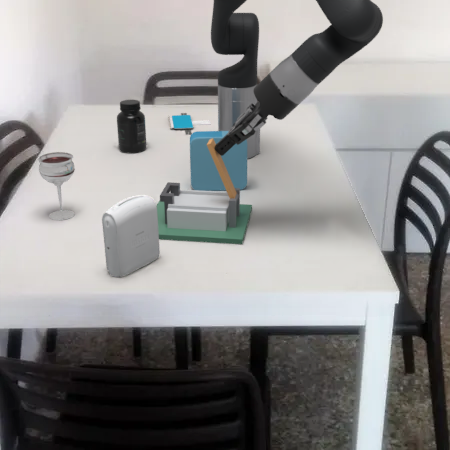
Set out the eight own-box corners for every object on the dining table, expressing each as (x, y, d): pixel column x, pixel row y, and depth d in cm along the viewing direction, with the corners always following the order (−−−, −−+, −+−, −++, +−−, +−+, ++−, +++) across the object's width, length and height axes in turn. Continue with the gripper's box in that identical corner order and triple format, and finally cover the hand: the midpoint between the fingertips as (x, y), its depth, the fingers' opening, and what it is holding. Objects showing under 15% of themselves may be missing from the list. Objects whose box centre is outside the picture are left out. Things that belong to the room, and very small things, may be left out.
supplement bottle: (143, 143, 184) (140, 97, 179) (149, 152, 178) (146, 104, 173) (116, 146, 182) (113, 99, 177) (121, 155, 176) (118, 106, 171)
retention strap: (239, 197, 138) (214, 137, 134) (237, 203, 135) (211, 143, 131) (233, 199, 138) (208, 139, 134) (231, 205, 136) (205, 145, 132)
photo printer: (119, 280, 120) (114, 212, 115) (102, 272, 122) (96, 205, 117) (163, 258, 127) (160, 193, 122) (146, 251, 129) (142, 186, 124)
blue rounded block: (245, 182, 159) (245, 130, 154) (247, 190, 155) (247, 136, 150) (191, 183, 159) (189, 131, 154) (191, 191, 155) (189, 137, 150)
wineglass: (41, 211, 146) (34, 154, 141) (75, 206, 148) (69, 150, 143) (47, 224, 140) (40, 165, 135) (82, 218, 142) (76, 161, 137)
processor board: (252, 209, 146) (252, 177, 143) (242, 244, 132) (242, 210, 129) (160, 204, 148) (158, 173, 146) (140, 238, 134) (138, 204, 131)
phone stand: (214, 135, 192) (214, 129, 191) (169, 137, 190) (168, 131, 190) (206, 114, 210) (206, 108, 209) (165, 116, 208) (165, 110, 208)
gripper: (274, 63, 132) (209, 126, 139) (268, 80, 120) (197, 148, 127) (302, 92, 133) (236, 153, 140) (299, 112, 121) (227, 178, 128)
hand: (218, 151), depth 133 cm, fingers closed
